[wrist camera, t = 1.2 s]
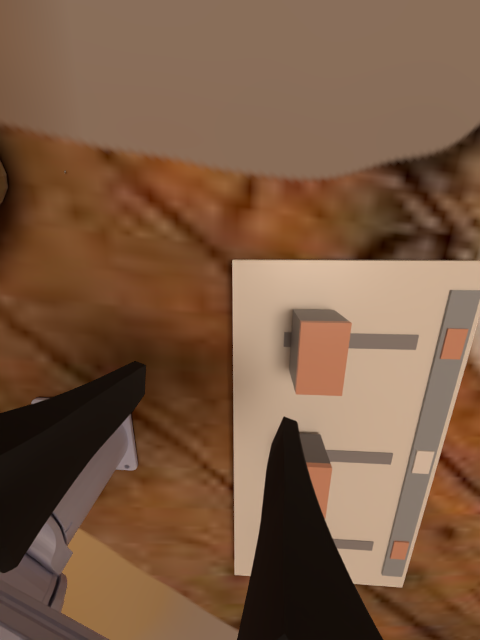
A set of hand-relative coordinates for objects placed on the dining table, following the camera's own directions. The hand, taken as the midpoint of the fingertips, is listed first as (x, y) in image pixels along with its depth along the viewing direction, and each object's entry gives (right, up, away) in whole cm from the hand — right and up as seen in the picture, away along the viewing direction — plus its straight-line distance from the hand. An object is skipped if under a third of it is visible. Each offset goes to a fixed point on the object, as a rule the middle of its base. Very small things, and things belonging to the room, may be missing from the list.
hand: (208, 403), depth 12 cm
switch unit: (+10, -8, +11) cm, 17 cm away
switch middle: (+7, -8, +10) cm, 14 cm away
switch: (+7, +3, +7) cm, 10 cm away
